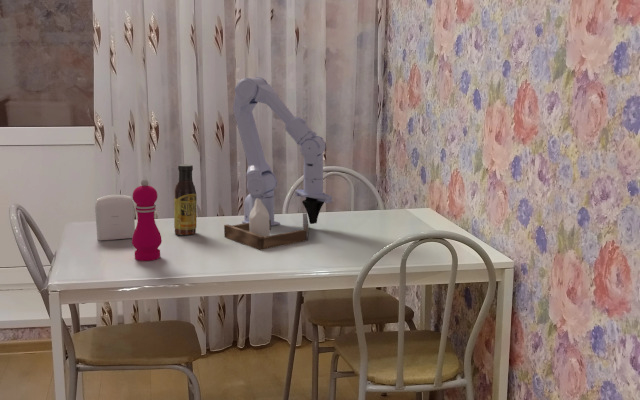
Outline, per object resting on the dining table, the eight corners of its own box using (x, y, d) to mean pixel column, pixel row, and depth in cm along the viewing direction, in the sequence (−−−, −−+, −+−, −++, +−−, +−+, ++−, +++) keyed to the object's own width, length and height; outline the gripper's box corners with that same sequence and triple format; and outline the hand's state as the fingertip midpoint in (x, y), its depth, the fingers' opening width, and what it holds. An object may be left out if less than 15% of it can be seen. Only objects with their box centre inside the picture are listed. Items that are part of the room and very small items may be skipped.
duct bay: (224, 237, 198) (224, 222, 197) (272, 228, 209) (272, 214, 208) (260, 250, 185) (260, 234, 184) (309, 240, 196) (309, 225, 195)
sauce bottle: (181, 237, 197) (179, 167, 194) (170, 233, 202) (168, 164, 198) (201, 233, 202) (200, 165, 198) (190, 229, 206) (188, 162, 202)
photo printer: (97, 241, 192) (94, 197, 190) (96, 238, 196) (94, 194, 194) (135, 239, 195) (133, 195, 193) (134, 235, 199) (133, 192, 197)
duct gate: (308, 238, 197) (308, 224, 196) (304, 238, 196) (304, 224, 196) (306, 226, 211) (306, 213, 210) (302, 226, 211) (302, 213, 210)
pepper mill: (137, 253, 181) (134, 176, 177) (165, 253, 181) (162, 177, 177) (129, 261, 174) (125, 181, 170) (158, 261, 174) (155, 182, 170)
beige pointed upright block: (268, 200, 189) (247, 200, 190) (268, 243, 192) (248, 243, 192) (270, 196, 195) (250, 196, 195) (270, 238, 198) (250, 237, 198)
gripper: (287, 176, 209) (287, 221, 211) (319, 182, 198) (318, 229, 200) (305, 174, 213) (305, 217, 216) (337, 180, 202) (337, 226, 205)
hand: (313, 223), depth 208 cm, fingers closed
